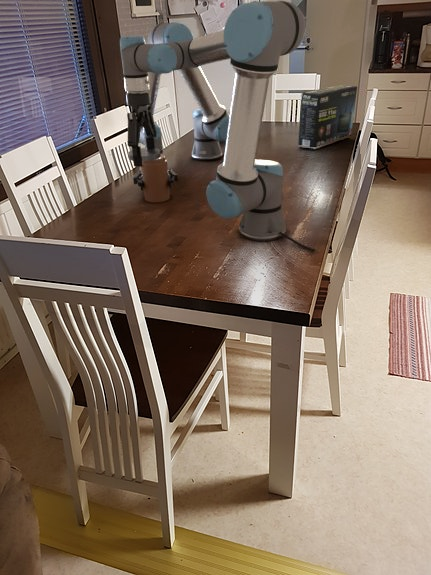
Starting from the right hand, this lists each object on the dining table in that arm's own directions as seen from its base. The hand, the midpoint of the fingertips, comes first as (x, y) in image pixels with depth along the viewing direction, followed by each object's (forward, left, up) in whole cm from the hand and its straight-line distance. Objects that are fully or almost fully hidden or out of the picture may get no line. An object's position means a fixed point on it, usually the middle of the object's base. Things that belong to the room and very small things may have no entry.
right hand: (145, 161), depth 156 cm
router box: (-24, -122, -19) cm, 126 cm away
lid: (0, 0, +3) cm, 3 cm away
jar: (+9, -16, -19) cm, 26 cm away
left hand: (+6, -12, -13) cm, 19 cm away
